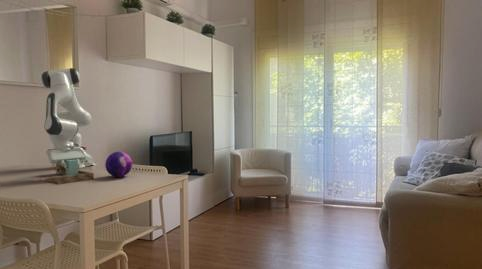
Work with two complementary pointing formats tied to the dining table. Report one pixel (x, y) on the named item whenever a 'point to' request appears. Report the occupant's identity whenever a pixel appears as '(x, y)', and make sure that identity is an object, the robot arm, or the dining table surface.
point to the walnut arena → (71, 177)
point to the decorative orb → (118, 164)
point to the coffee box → (60, 169)
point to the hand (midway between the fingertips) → (72, 166)
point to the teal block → (72, 167)
